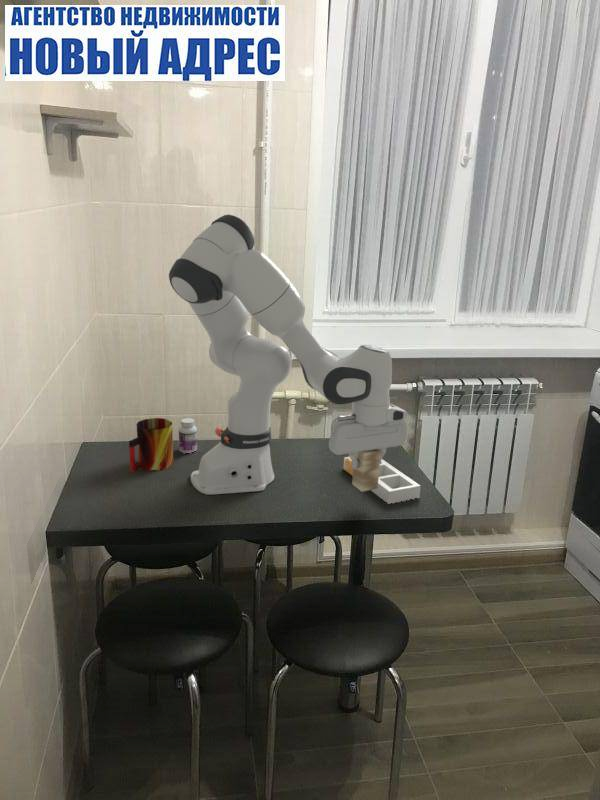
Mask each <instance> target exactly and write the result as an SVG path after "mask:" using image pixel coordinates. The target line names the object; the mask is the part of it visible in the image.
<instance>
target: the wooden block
mask: <svg viewBox="0 0 600 800" xmlns="http://www.w3.org/2000/svg"><path fill="white" fill-rule="evenodd" d="M355 457H356V459H358V460H359V461H360V468H355V469H354V468H353V476H352V479H351V481H352V482H351V484H352V486H353V487H355V489H358V491H360V492H363V493H364V492H368V491H371V490H374V489H378V478H379V464H380V451H379V450H378V449H375V450H368V451H362V452H358V453H357V456H355Z"/></svg>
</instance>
